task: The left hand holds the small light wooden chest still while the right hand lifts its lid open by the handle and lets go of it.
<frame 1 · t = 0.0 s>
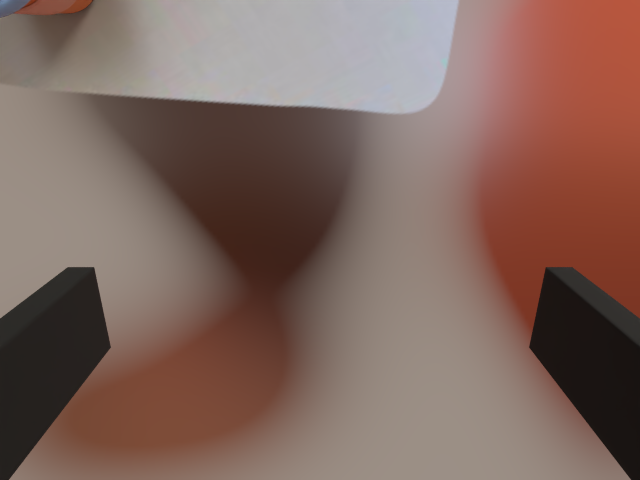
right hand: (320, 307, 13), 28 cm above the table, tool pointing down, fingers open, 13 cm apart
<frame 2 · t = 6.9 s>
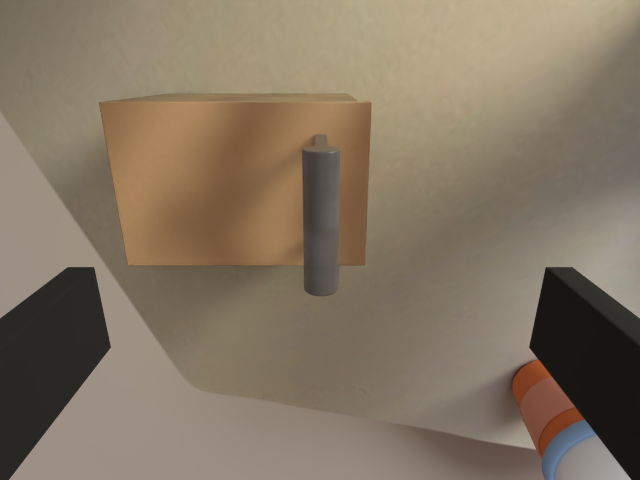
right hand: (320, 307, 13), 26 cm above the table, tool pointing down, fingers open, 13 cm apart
cup with straw: (540, 380, 45), on the table
lid: (231, 203, 23), point 15 cm above the table, hinge at 0.0°
chest: (261, 155, 37), on the table
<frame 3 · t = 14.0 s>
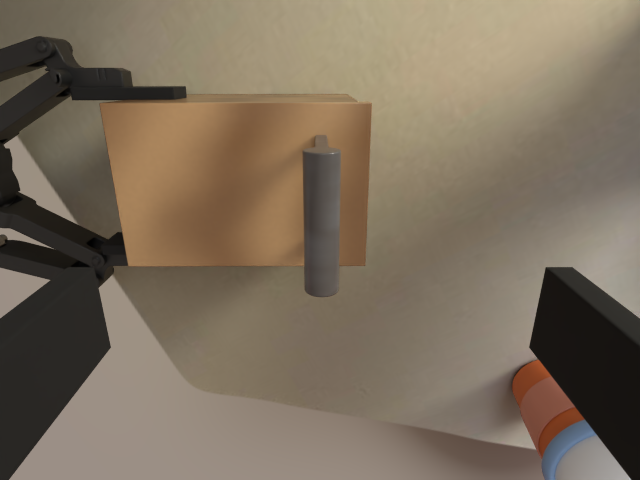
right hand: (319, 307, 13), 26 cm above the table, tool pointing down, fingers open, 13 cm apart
cup with straw: (540, 380, 45), on the table
lid: (232, 204, 23), point 15 cm above the table, hinge at 0.0°
chest: (261, 155, 37), on the table, touching left hand
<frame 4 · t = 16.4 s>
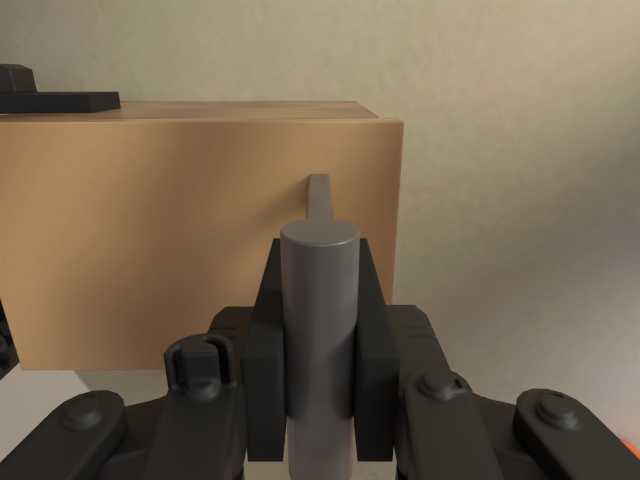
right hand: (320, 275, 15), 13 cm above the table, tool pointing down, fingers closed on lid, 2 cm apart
lid: (165, 298, 13), point 15 cm above the table, hinge at -0.1°, touching right hand
chest: (238, 184, 27), on the table, touching left hand
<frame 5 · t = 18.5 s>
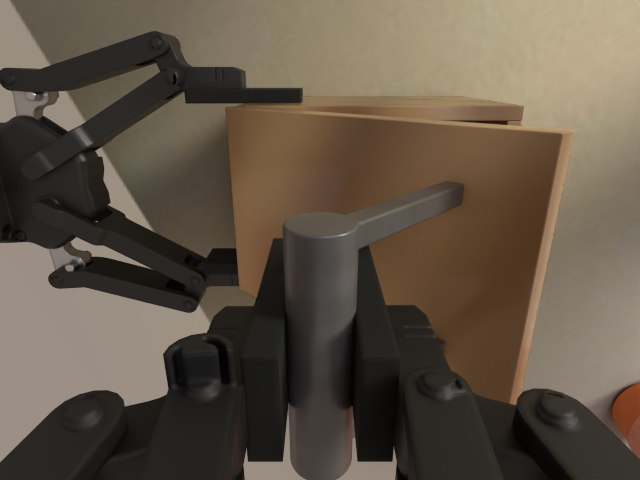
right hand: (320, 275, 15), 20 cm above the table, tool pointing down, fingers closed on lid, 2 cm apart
left hand: (303, 183, 27), fingers closed on chest, 10 cm apart
lid: (287, 261, 16), point 19 cm above the table, hinge at 42.4°, touching right hand
chest: (361, 163, 33), on the table, touching left hand
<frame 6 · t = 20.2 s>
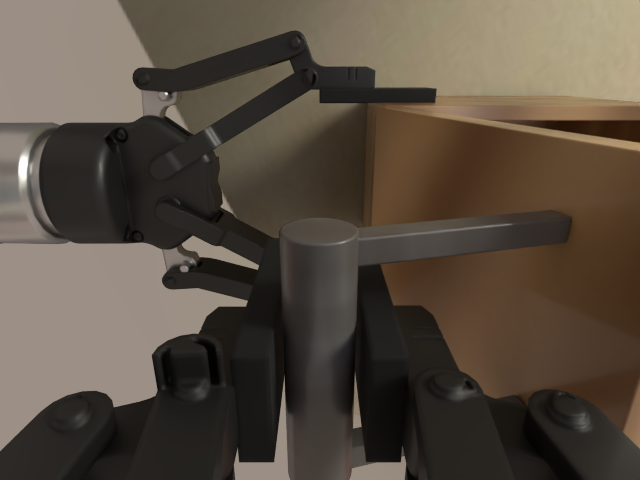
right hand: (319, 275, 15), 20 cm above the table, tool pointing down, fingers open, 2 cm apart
left hand: (422, 183, 27), fingers closed on chest, 10 cm apart
lid: (372, 267, 15), point 19 cm above the table, hinge at 73.9°
chest: (458, 163, 33), on the table, touching left hand
when the left hand's fingers open (7 cm above the table, at t = 24.3 s): chest stays where it is, on the table.
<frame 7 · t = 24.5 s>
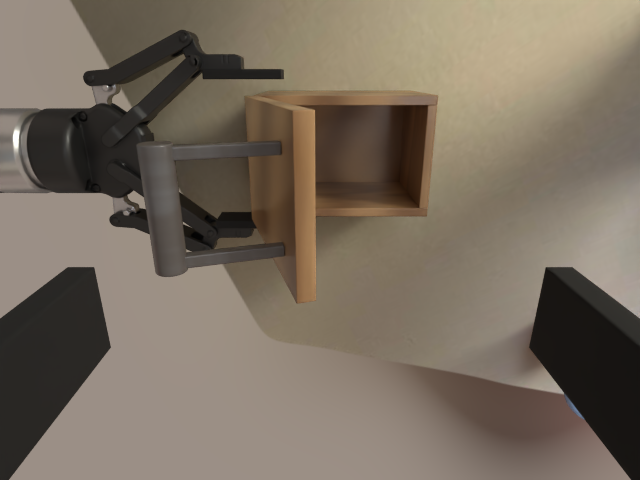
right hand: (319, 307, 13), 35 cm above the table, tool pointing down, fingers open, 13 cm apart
left hand: (285, 151, 39), fingers open, 12 cm apart
lid: (219, 184, 27), point 20 cm above the table, hinge at 72.5°
chest: (339, 140, 45), on the table
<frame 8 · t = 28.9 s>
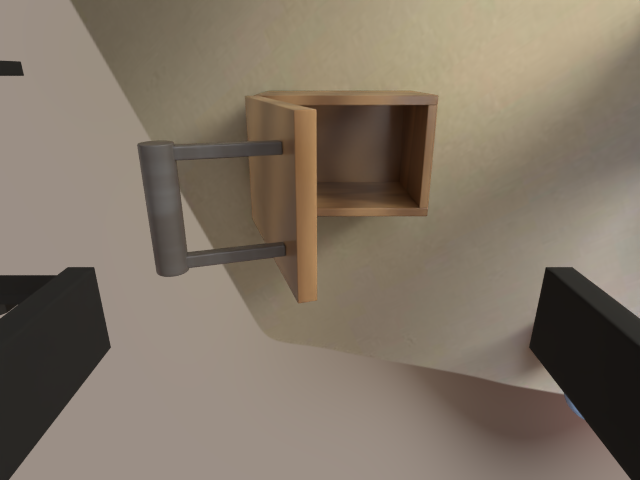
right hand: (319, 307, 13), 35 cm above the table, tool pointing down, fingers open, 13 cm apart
lid: (220, 184, 27), point 20 cm above the table, hinge at 72.5°
chest: (339, 140, 45), on the table
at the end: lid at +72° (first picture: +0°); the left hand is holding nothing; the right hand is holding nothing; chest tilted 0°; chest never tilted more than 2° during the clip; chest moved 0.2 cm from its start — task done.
